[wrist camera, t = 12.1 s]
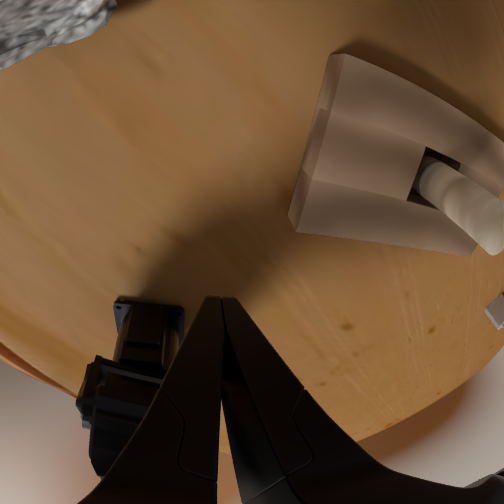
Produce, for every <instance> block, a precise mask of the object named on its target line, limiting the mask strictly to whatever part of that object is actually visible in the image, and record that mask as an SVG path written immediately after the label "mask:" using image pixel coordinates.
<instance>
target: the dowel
mask: <svg viewBox="0 0 504 504" xmlns="http://www.w3.org/2000/svg"><path fill="white" fill-rule="evenodd" d="M412 187H413V189H414V190H415V191H416V192H418V193H419V194H420V195H421V196H422V197H423V198H424V199H426V200H427V201H429V202H430V203H432V204H433V205H434V206H435V207H437V208H438V209H439V210H440V211H442V212H443V213H444V214H445V215H446V216H448V217H449V218H450V219H451V220H452V221H454V222H455V223H456V224H457V225H458V226H459V227H460V228H462V229H463V230H464V231H465V232H466V233H467V234H468V235H469V236H470V237H472V238H473V239H474V240H475V241H476V242H477V243H478V244H479V245H480V246H481V247H482V248H483V249H484V250H485V251H486V252H487V253H488V254H490V255H496V254H498V253H500V252H501V251H502V250H503V249H504V202H503V201H501V200H500V199H498V198H497V197H496V196H494V195H493V194H491V193H490V192H488V191H487V190H486V189H484V188H483V187H481V186H480V185H478V184H477V183H475V182H473V181H472V180H470V179H469V178H467V177H466V176H464V175H462V174H461V173H459V172H458V171H456V170H454V169H453V168H451V167H449V166H447V165H446V164H445V163H444V162H442V161H439V160H437V159H435V158H433V157H431V156H423V157H422V159H421V162H420V165H419V168H418V171H417V173H416V176H415V179H414V182H413V184H412Z"/></svg>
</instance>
